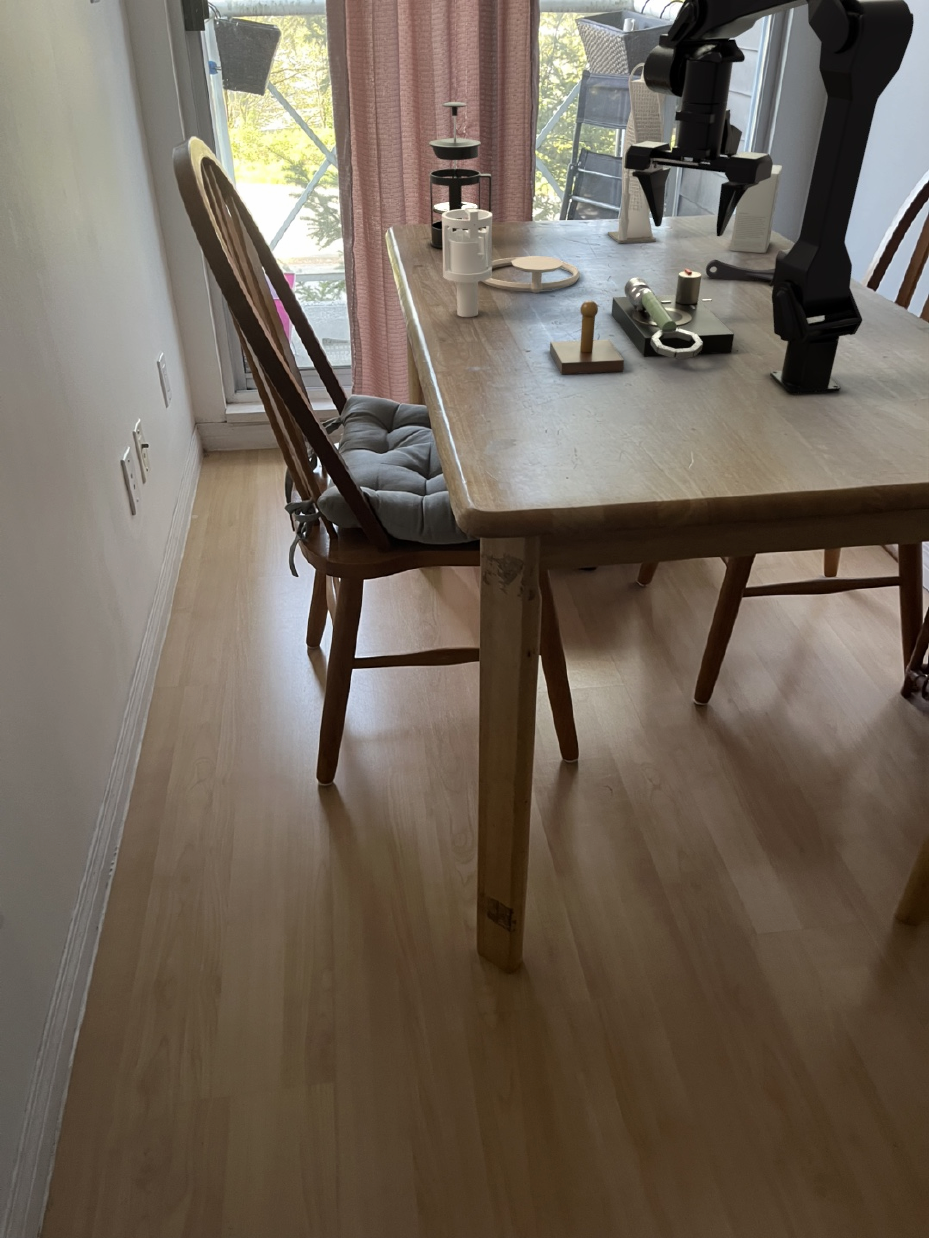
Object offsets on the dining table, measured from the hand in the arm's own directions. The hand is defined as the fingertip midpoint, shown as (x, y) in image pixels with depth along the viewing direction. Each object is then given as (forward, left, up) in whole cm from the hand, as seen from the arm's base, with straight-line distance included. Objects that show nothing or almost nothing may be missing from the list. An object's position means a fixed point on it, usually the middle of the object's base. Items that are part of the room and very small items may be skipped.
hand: (688, 231), depth 129 cm
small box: (+40, -25, -13) cm, 49 cm away
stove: (-4, +3, -12) cm, 13 cm away
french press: (+49, +27, -13) cm, 57 cm away
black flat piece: (+20, -18, -13) cm, 30 cm away
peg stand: (-14, +17, -12) cm, 25 cm away
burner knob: (+1, -1, -10) cm, 10 cm away
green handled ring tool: (-8, +6, -11) cm, 15 cm away
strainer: (+8, +30, -13) cm, 33 cm away
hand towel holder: (+24, +18, -13) cm, 32 cm away
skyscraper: (+50, -6, -13) cm, 52 cm away
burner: (-5, +4, -10) cm, 12 cm away
